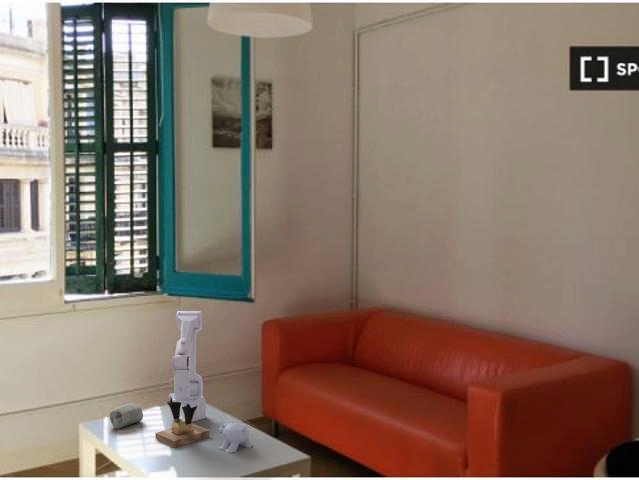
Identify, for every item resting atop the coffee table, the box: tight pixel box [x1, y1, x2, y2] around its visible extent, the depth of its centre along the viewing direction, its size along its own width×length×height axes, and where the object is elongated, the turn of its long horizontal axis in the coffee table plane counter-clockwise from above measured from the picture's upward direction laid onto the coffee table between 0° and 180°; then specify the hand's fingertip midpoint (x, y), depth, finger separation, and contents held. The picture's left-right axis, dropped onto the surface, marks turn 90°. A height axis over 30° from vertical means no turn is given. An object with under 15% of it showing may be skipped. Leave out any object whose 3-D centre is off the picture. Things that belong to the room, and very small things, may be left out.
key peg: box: [171, 417, 193, 436], centre depth 286 cm, size 4×6×7 cm, turn 137°
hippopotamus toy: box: [218, 422, 254, 454], centre depth 278 cm, size 11×15×10 cm
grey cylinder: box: [109, 402, 144, 430], centre depth 300 cm, size 14×10×10 cm
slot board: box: [154, 422, 211, 449], centre depth 286 cm, size 16×12×2 cm
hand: (182, 421), depth 286 cm, fingers open, 7 cm apart
